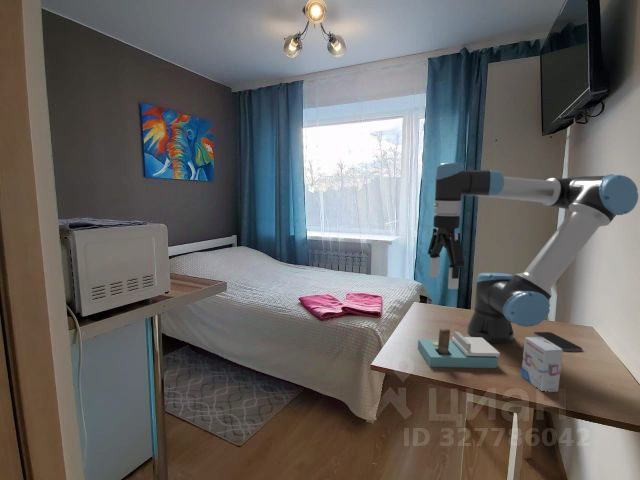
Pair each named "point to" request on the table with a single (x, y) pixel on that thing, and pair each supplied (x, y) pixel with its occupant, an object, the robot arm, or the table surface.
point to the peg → (443, 341)
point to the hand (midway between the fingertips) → (442, 282)
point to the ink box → (542, 363)
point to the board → (453, 356)
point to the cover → (474, 346)
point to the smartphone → (559, 341)
